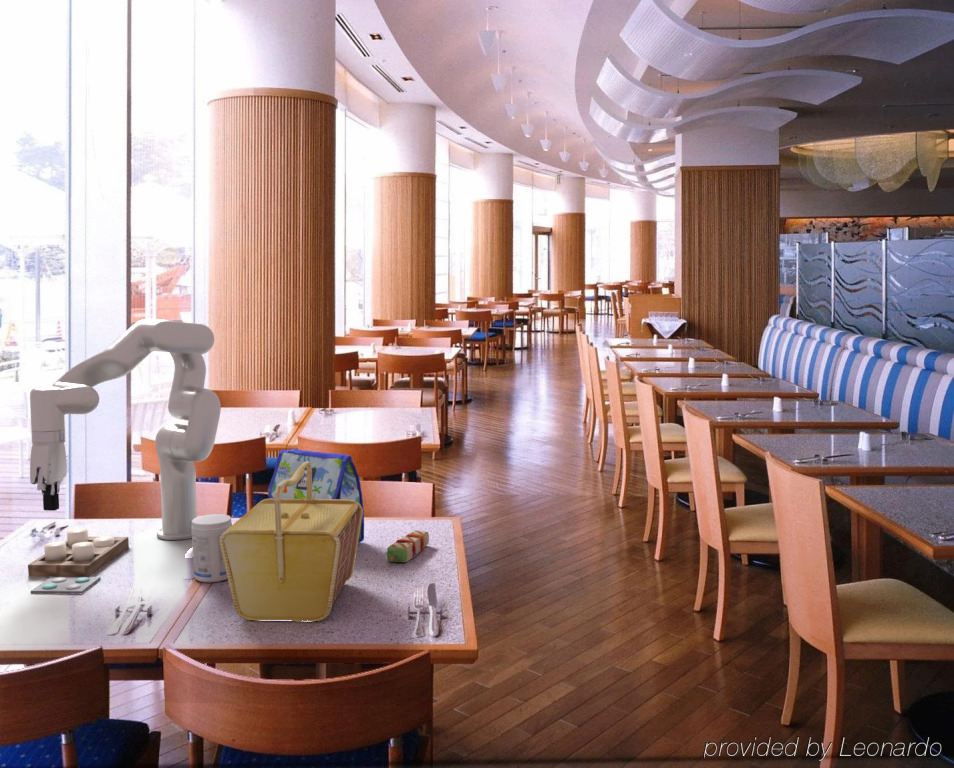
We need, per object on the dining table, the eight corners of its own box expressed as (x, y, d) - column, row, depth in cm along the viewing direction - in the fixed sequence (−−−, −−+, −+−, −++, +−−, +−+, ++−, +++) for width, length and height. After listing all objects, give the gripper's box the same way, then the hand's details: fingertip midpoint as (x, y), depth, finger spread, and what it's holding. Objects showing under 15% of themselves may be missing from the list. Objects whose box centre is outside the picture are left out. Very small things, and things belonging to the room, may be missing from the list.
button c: (97, 556, 231) (97, 541, 231) (88, 562, 226) (88, 547, 226) (78, 556, 232) (77, 541, 231) (69, 562, 227) (68, 547, 226)
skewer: (410, 544, 251) (410, 526, 250) (432, 546, 249) (432, 529, 248) (378, 567, 231) (378, 548, 231) (401, 570, 229) (401, 550, 229)
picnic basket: (259, 579, 222) (256, 458, 219) (365, 581, 221) (363, 459, 217) (219, 625, 193) (214, 486, 190) (340, 628, 192) (337, 488, 188)
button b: (91, 542, 244) (90, 528, 243) (83, 547, 239) (82, 533, 238) (73, 542, 244) (72, 528, 243) (64, 547, 239) (63, 533, 238)
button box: (128, 547, 247) (128, 536, 247) (89, 577, 223) (88, 565, 223) (74, 547, 247) (73, 536, 247) (28, 576, 224) (27, 564, 223)
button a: (117, 550, 244) (117, 536, 243) (109, 556, 239) (109, 541, 238) (99, 550, 244) (98, 536, 243) (91, 555, 239) (90, 541, 238)
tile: (100, 579, 222) (100, 575, 222) (81, 593, 212) (81, 590, 212) (51, 578, 222) (51, 575, 222) (30, 593, 212) (30, 589, 212)
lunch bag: (265, 549, 246) (262, 453, 243) (299, 532, 262) (297, 443, 258) (337, 558, 238) (335, 460, 235) (368, 541, 253) (366, 448, 250)
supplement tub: (230, 568, 230) (228, 511, 228) (238, 580, 221) (236, 521, 220) (190, 574, 226) (188, 516, 224) (196, 586, 217) (194, 525, 215)
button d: (70, 556, 232) (69, 541, 231) (61, 562, 227) (60, 547, 226) (51, 556, 232) (50, 541, 231) (41, 562, 227) (40, 547, 226)
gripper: (48, 431, 233) (51, 502, 235) (17, 441, 218) (20, 517, 220) (77, 432, 233) (80, 502, 235) (48, 442, 218) (51, 517, 220)
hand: (51, 509), depth 227 cm, fingers closed
